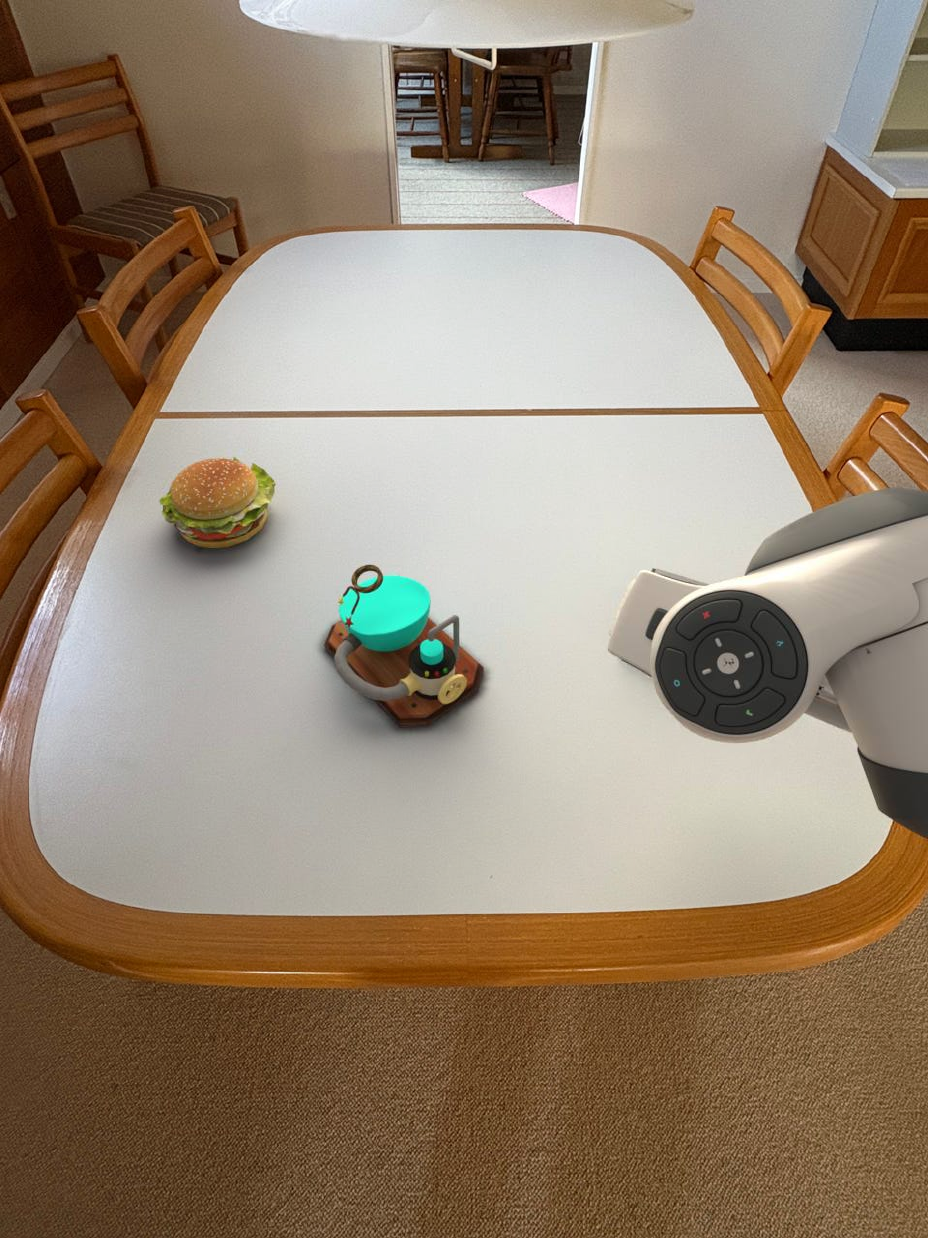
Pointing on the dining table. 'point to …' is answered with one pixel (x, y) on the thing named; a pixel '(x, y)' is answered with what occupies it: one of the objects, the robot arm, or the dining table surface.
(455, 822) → the dining table surface
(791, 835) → the dining table surface
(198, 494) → the food
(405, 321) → the dining table surface
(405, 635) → the contraption on wooden base
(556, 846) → the dining table surface
